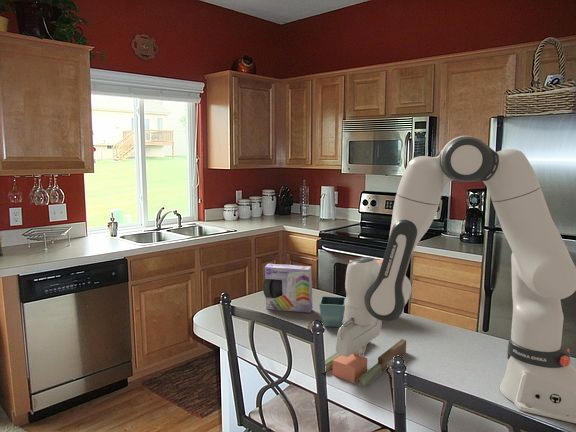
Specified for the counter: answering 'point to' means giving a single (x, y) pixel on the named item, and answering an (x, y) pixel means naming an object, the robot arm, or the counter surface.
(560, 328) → the robot arm
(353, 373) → the orange block
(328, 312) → the flower pot
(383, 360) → the parallel rails
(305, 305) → the cake pan box
